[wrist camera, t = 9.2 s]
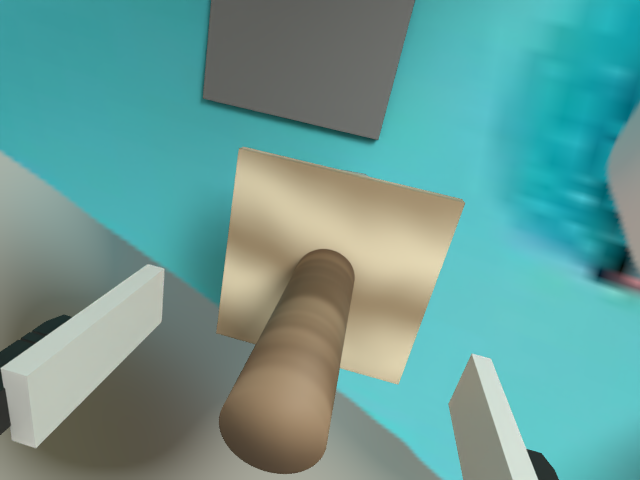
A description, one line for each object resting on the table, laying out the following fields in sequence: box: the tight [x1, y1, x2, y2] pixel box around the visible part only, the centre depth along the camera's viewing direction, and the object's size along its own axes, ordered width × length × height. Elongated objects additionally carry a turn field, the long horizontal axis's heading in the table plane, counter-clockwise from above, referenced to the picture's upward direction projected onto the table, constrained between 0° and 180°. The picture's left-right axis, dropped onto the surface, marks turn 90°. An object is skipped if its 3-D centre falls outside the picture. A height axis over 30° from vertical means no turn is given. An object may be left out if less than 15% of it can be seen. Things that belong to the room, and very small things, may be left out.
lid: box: [217, 147, 465, 474], centre depth 17 cm, size 12×12×12 cm
